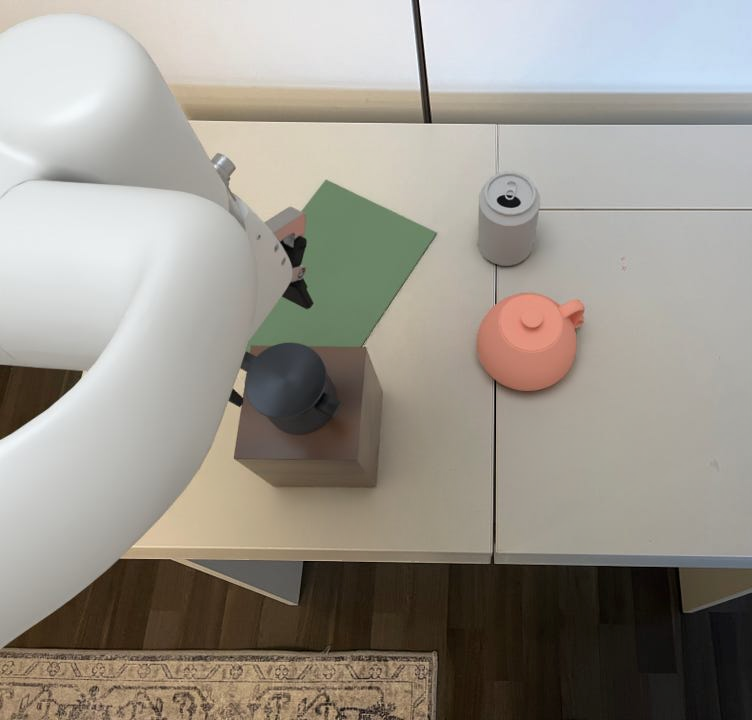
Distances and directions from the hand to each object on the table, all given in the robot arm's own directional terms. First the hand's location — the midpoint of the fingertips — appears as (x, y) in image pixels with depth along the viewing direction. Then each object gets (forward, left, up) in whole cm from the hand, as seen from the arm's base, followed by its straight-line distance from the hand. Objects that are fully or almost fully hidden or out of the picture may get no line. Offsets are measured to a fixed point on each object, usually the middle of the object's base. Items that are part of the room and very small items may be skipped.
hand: (262, 346), depth 53 cm
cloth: (+17, +12, -27) cm, 34 cm away
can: (+34, -6, -28) cm, 44 cm away
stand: (0, 0, -27) cm, 27 cm away
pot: (0, 0, -13) cm, 13 cm away
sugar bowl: (+22, -16, -28) cm, 39 cm away
